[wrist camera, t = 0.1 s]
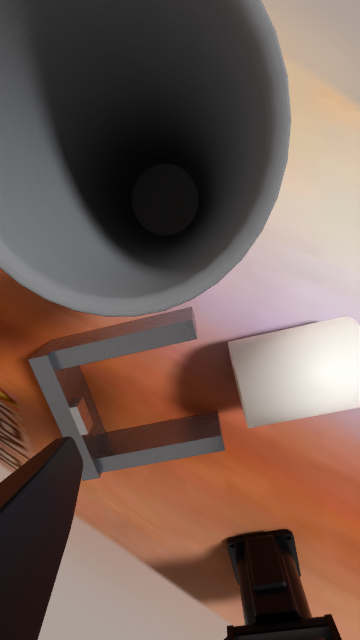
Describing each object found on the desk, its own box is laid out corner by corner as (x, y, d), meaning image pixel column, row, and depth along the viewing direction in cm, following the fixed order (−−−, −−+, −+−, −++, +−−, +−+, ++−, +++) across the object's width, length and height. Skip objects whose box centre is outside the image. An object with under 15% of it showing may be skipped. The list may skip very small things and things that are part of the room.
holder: (220, 424, 25) (226, 456, 22) (96, 448, 26) (82, 481, 23) (191, 307, 22) (192, 322, 19) (51, 340, 23) (27, 360, 20)
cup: (114, 248, 21) (-48, 303, 7) (115, 138, 19) (-122, -137, 4) (210, 256, 21) (257, 331, 7) (222, 148, 19) (334, -94, 4)
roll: (330, 305, 22) (381, 335, 16) (337, 375, 24) (385, 424, 18) (223, 329, 23) (235, 366, 17) (238, 395, 24) (253, 448, 19)
